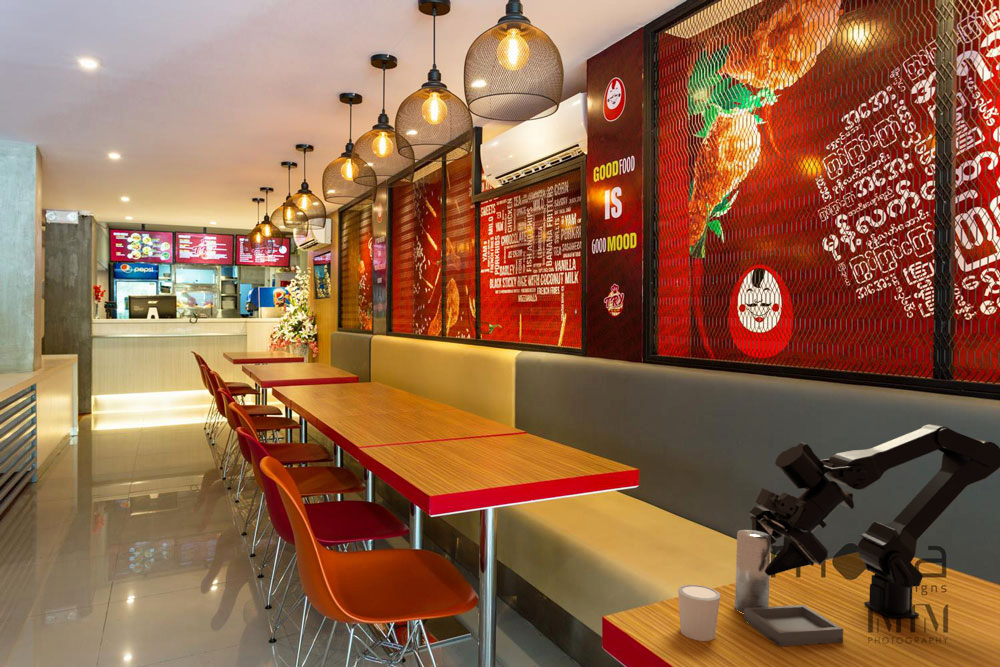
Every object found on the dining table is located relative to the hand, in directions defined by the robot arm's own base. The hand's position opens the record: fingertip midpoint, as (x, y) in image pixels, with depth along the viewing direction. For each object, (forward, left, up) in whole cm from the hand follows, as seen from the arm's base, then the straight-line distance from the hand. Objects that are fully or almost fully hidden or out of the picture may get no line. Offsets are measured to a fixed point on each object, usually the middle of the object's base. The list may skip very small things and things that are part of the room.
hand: (754, 564), depth 119 cm
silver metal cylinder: (0, 0, -8) cm, 8 cm away
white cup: (+15, +7, -9) cm, 19 cm away
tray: (-2, +9, -8) cm, 12 cm away
